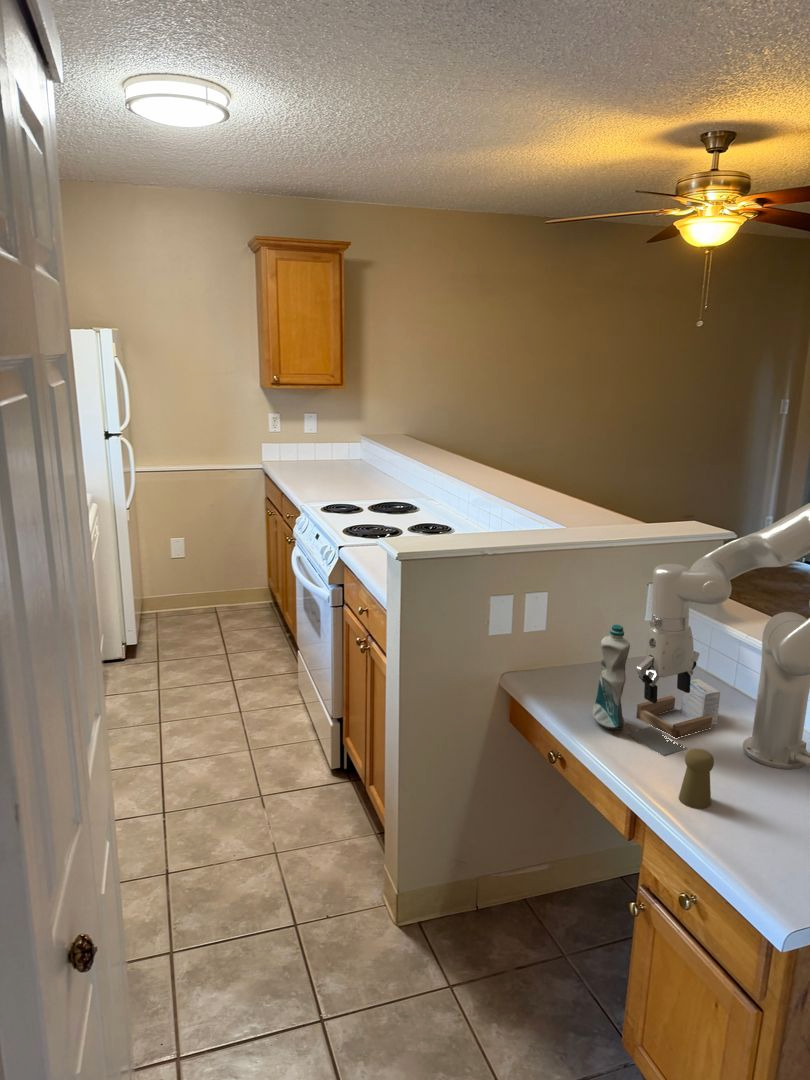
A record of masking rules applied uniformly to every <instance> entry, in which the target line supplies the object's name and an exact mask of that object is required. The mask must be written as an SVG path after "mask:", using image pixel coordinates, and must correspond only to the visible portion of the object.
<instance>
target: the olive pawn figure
mask: <svg viewBox="0 0 810 1080" xmlns="http://www.w3.org/2000/svg"><path fill="white" fill-rule="evenodd" d="M684 763H685V766H686V769H685V772H684V776H683V780H682V783H681V787H680V791H679V795H678V801H679V802H680V803H681V804H683V805H684V806H686V807H688V808H690V809H695V810H705V809H707V808H710V807H711V805H712V797H711V794H712V793H711V771H712V770H713V768H714V765H715V759H714V756H713V754H712V753H710V751H708V750H705V749H703V748H697V747H696V748H691V749H689V750H688V751H687V752H686V753H685V755H684Z"/></svg>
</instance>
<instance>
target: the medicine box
mask: <svg viewBox="0 0 810 1080" xmlns="http://www.w3.org/2000/svg"><path fill="white" fill-rule="evenodd" d="M681 696H682V697H681V707H680V713H681V712H682V713H684V714H685V715H684V714H683V715H684V716H686V715H687V716H688V717H687V716H686V717H687V718H689V717H690V718H692V719H694V718H698V717H702V716H705V715H710V716H712V725H716V724H715V723H717V724H718V719H719V708H720V699H721V698H720V696H721V692H720V691H719V690H718V689H716V688H715V687H714V686H711V685H710V684H708V683H706V682H704V681H703V680H702V679H699V678H693V679H691V681H690V693H686V692H684V691H682V695H681ZM682 713H681V714H682ZM690 718H689V719H690Z"/></svg>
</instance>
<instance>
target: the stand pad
mask: <svg viewBox="0 0 810 1080" xmlns="http://www.w3.org/2000/svg"><path fill="white" fill-rule="evenodd" d="M662 733H663V732H661V731H660V730H658V729H656V728H654V727H652V726H648V727H645V728H641V729H637V730H633V731H628V732H627V736H628V735H629V737H630V736H631V737H630V738H632V739H633V740H635V739H636V740H635V741H637V742H639V743H640V744H642V745H644V746H646V747H647V748H649V749H651V750H652V751H655V752H656V753H657V752H658V753H657V754H659V753H660V754H659V755H661V756H662V757H665V755H666V756H668V754H669V755H672V754H675V753H678V752H677V751H679V752H681V751H680V750H682V751H684V750H683V749H685V750H687V749H686V748H687V747H686V746H685V748H683V746H684V745H683V744H681V743H680V742H678V743H679V744H678V745H677V744H676V743H675V744H673V742H674V741H672V742H671V741H670V740H669V739H665V738H666V737H665V738H664V736H665V735H666V734H665V733H663V734H662ZM662 735H664V736H662ZM668 737H669V736H668ZM668 737H667V738H668ZM666 740H669V741H668V742H667V741H666ZM681 745H682V746H681ZM680 746H681V747H680ZM674 752H675V753H674ZM671 753H672V754H671Z"/></svg>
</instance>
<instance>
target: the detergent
mask: <svg viewBox="0 0 810 1080" xmlns="http://www.w3.org/2000/svg"><path fill="white" fill-rule="evenodd" d="M624 635H625V631H624V627H623V626H622V625H620V624H612V626H611V629H610V630H609V635H606V636H604V637H603V638H602V639H601V642H600V649H601V653H602V659H601V660H600V661H601V662H600V665H601V671H600V675H599V677H598V684H597V685H598V686H597V693H596V697H595V701H594V704H593V707H592V711H591V712H592V718H593V719H594V720H595V721H596V722H597V723H598V724H599V725H600V726H602V727H603V728H605V729H607V730H621V729H623V727H624V726H625V718H624V717H623V709H622V708H623V707H622V701H621V700H622V696H623V692H624V688H625V684H626V680H627V679H626V678H627V677H626V664H627V660H628V656H629V653H630V652H629V651H630V648H631V643H630V641H629V640H627V639H626V638H624Z"/></svg>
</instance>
